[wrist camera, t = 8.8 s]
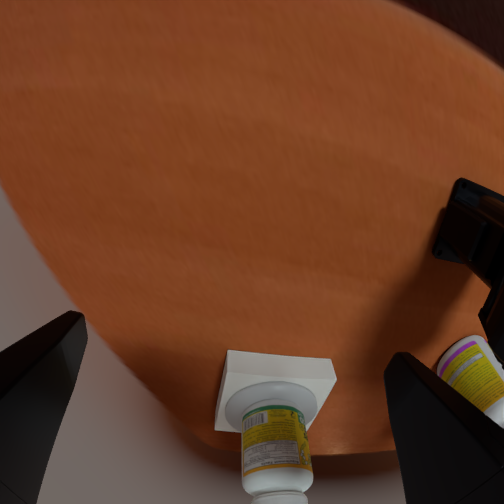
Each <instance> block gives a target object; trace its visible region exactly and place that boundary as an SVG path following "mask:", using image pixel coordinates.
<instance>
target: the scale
mask: <svg viewBox="0 0 504 504" xmlns="http://www.w3.org/2000/svg"><path fill="white" fill-rule="evenodd" d="M336 380H337V378H336V375H335V372H334V368H333V365H332V362H331V359H324V358H308V357H294V356H282V355H271V354H261V353H252V352H243V351H235V350H228V351H227V356H226V361H225V366H224V370H223V375H222V380H221V385H220V390H219V395H218V400H217V405H216V410H215V430H218V431H228V432H240V433H241V418H242V414H243V412H244V411H245V410H246V409H247V408H248V407H249V406H251V405H252V404H254V403H257V402H260V401H263V400H269V399H282V400H288V401H291V402H293V403H295V404H296V405H298V406H299V407H300V408H301V410H302V411H303V414H304V419H305V426H306V432H307V430H308V428H309V427H310V425H311V423H312V422H313V420H314V419H315V417H316V415H317V414H318V412H319V410H320V409H321V407H322V405H323V403H324V402H325V400H326V398H327V397H328V395H329V393H330V391H331V389H332V388H333V386H334V384H335V382H336Z"/></svg>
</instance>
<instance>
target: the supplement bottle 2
mask: <svg viewBox="0 0 504 504" xmlns="http://www.w3.org/2000/svg"><path fill="white" fill-rule="evenodd" d="M437 375H438V376H439V377H440V378H441V379H443V380H444V381H445V382H446V383H448V384H449V385H450V386H451V387H453V388H454V389H455V390H456V391H458V392H459V393H460V394H461V395H462V396H464V397H465V398H466V399H467V400H469V401H470V402H471V403H472V404H474V405H475V406H476V407H477V408H478V409H480V410H481V411H482V412H483V413H485V415H487V416H488V417H489V418H491V419H492V420H493V421H494V422H496V423H497V424H498V425H499V426H501V427H502V428H503V429H504V370H503V369H502V365H501V364H500V363H499V362H498V361H497V359H496V358H495V356H494V354H493V352H492V350H491V348H490V347H489V345H488V343H487V342H486V341H485V340H484V339H483V338H482V337H481V336H478V335H472V336H468V337H465V338H463V339H461V340H460V341H458V342H457V343H455V344H454V345H453V346H452V347H451V348H450V349H449V350H448V351H447V352H446V353H445V354H444V355H443V357H442V358H441V360H440V362H439V364H438V367H437Z"/></svg>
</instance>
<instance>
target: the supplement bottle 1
mask: <svg viewBox="0 0 504 504" xmlns="http://www.w3.org/2000/svg"><path fill="white" fill-rule="evenodd" d="M241 433H242V486H243V488H244V490H245V491H246V492H247V493H249V494H251V495H252V496H255V497H254V498H253V500H252V502H251V504H308V499H307V497H306V495H305V494H303V492H305V491H306V490H307V489H308V488H309V487H310V486H311V484H312V482H313V471H312V464H311V458H310V451H309V445H308V438H307V432H306V426H305V419H304V414H303V411H302V410H301V408H300V407H299V406H298V405H296V404H295V403H293V402H291V401H288V400H282V399H269V400H263V401H260V402H257V403H254V404H252V405H251V406H249V407H248V408H247V409H246V410H245V411H244V412H243V414H242V418H241Z"/></svg>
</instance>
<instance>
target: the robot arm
mask: <svg viewBox="0 0 504 504" xmlns="http://www.w3.org/2000/svg"><path fill="white" fill-rule="evenodd" d="M462 183H464V184H463V186H462ZM438 250H439V252H438ZM437 252H438V253H437ZM432 254H433V256H434V257H435V258H437V259H442V260H447V261H452V262H457V263H461V264H465V265H466V266H467V267H468V268H469V269H471V270H472V271H473V272H474V273H475V274H476V275H477V276H478V277H479V278H480V279H481V280H482V281H483V282H484V283H485V284H486V285H487V286H488V287H489V288H490V289H491V290H490V292H489V295H488V297H487V299H486V301H485V304H484V306H483V308H481V309H480V312H479V314H478V317H479V319H480V321H481V324H482V326H483V329H484V331H485V334H486V336H487V339H488V345H489V347H490V348H491V350H492V352H493V354H494V356H495V358H496V359H497V361H498V362H499V363H500V364H501V365H502V369H503V370H504V196H503V195H501V194H499V193H496V192H494V191H492V190H490V189H488V188H486V187H483V186H481V185H479V184H477V183H474V182H472V181H470V180H467V179H465V178H459V179H458V180H457V182H456V186H455V189H454V192H453V195H452V198H451V201H450V204H449V207H448V210H447V212H446V215H445V218H444V221H443V223H442V226H441V229H440V231H439V234H438V237H437V239H436V242H435V244H434V247H433V249H432ZM87 336H88V335H87V329H86V323H85V317H84V315H83V314H82V313H81V312H76V311H72V310H70V311H68V312H66V313H64V314H62V315H61V316H59V317H57V318H55V319H54V320H52V321H50V322H49V323H47V324H46V325H44V326H42V327H41V328H39V329H37V330H36V331H34V332H32V333H30V334H29V335H27V336H25V337H24V338H22V339H20V340H19V341H17V342H15V343H14V344H12V345H11V346H9V347H7V348H6V349H4V350H3V351H1V352H0V504H36V503H37V499H38V495H39V491H40V488H41V484H42V481H43V477H44V474H45V470H46V467H47V464H48V461H49V457H50V454H51V451H52V448H53V445H54V442H55V439H56V436H57V433H58V430H59V427H60V425H61V422H62V419H63V416H64V414H65V411H66V408H67V405H68V403H69V400H70V397H71V395H72V392H73V390H74V387H75V383H76V380H77V376H78V372H79V369H80V365H81V362H82V358H83V355H84V351H85V348H86V344H87V339H88V337H87ZM384 384H385V391H386V398H387V405H388V413H389V419H390V424H391V428H392V433H393V437H394V442H395V446H396V451H397V456H398V460H399V465H400V471H401V476H402V481H403V486H404V493H405V498H406V504H504V429H503V428H502V427H501V426H499V425H498V424H497V423H496V422H494V421H493V420H492V419H491V418H489V417H488V416H487V415H485V413H483V412H482V411H481V410H480V409H478V408H477V407H476V406H475V405H474V404H472V403H471V402H470V401H469V400H467V399H466V398H465V397H464V396H462V395H461V394H460V393H459V392H458V391H456V390H455V389H454V388H453V387H451V386H450V385H449V384H448V383H446V382H445V381H444V380H443V379H441V378H440V377H439V376H438V375H436V374H435V373H434V372H433V371H431V370H430V369H429V368H428V367H426V366H425V365H424V364H423V363H421V362H420V361H419V360H418V359H416V358H415V357H414V356H413V355H411V354H410V353H408V352H397V353H395V354H394V356H393V357H392V359H391V361H390V362H389V364H388V366H387V367H386V369H385V371H384Z"/></svg>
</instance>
